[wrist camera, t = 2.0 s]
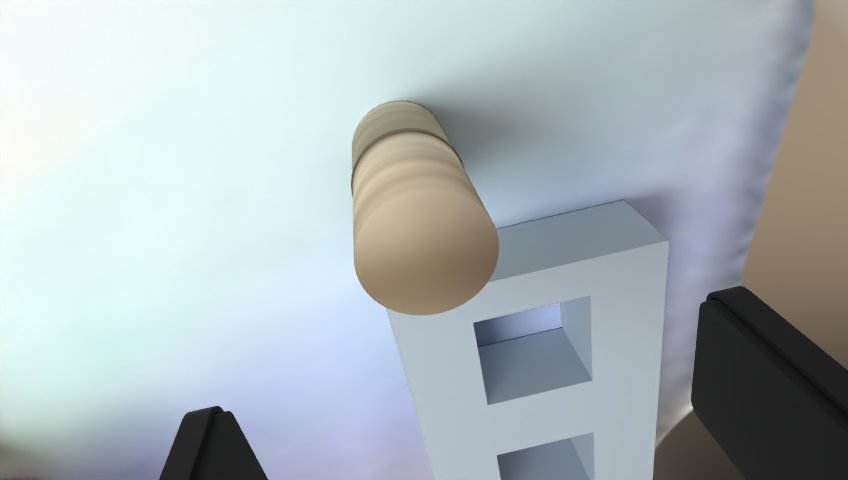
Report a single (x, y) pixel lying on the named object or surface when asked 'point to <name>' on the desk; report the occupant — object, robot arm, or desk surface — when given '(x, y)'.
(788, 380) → the robot arm
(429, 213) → the dowel
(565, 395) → the board
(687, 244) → the desk surface
